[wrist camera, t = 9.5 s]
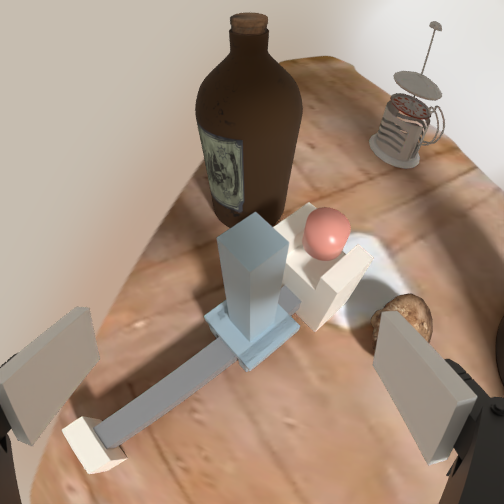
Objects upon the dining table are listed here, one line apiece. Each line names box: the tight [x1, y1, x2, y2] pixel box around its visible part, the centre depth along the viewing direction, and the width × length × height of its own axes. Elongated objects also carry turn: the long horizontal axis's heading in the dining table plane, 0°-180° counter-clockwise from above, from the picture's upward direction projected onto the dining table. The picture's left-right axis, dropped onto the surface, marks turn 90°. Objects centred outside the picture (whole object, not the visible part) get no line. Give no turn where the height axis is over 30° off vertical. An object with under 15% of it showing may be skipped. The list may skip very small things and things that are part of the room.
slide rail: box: [62, 202, 374, 474], centre depth 27 cm, size 32×8×10 cm, turn 131°
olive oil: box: [195, 13, 303, 228], centre depth 32 cm, size 11×11×25 cm
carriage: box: [204, 212, 300, 372], centre depth 24 cm, size 6×6×17 cm
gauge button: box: [302, 207, 351, 261], centre depth 26 cm, size 4×4×2 cm
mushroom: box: [371, 294, 433, 351], centre depth 31 cm, size 8×8×6 cm
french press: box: [369, 21, 445, 169], centre depth 39 cm, size 10×12×25 cm
